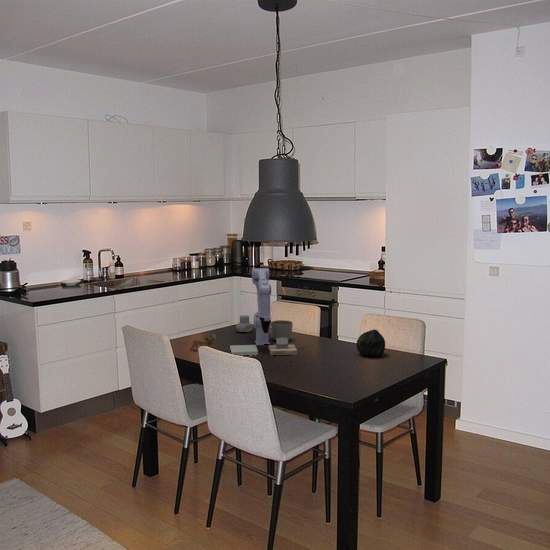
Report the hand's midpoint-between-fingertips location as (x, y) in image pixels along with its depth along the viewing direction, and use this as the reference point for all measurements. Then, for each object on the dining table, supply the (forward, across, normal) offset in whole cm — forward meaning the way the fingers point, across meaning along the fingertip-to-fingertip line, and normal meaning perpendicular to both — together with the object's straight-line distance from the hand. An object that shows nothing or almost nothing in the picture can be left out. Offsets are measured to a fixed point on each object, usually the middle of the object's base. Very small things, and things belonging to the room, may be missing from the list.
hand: (265, 331), depth 331 cm
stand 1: (+10, +4, -12) cm, 16 cm away
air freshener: (+10, -46, -8) cm, 48 cm away
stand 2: (+10, +5, +9) cm, 15 cm away
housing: (+8, +5, +9) cm, 13 cm away
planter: (+10, -21, +12) cm, 26 cm away
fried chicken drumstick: (+11, -4, -33) cm, 35 cm away
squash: (+11, +16, +55) cm, 58 cm away
